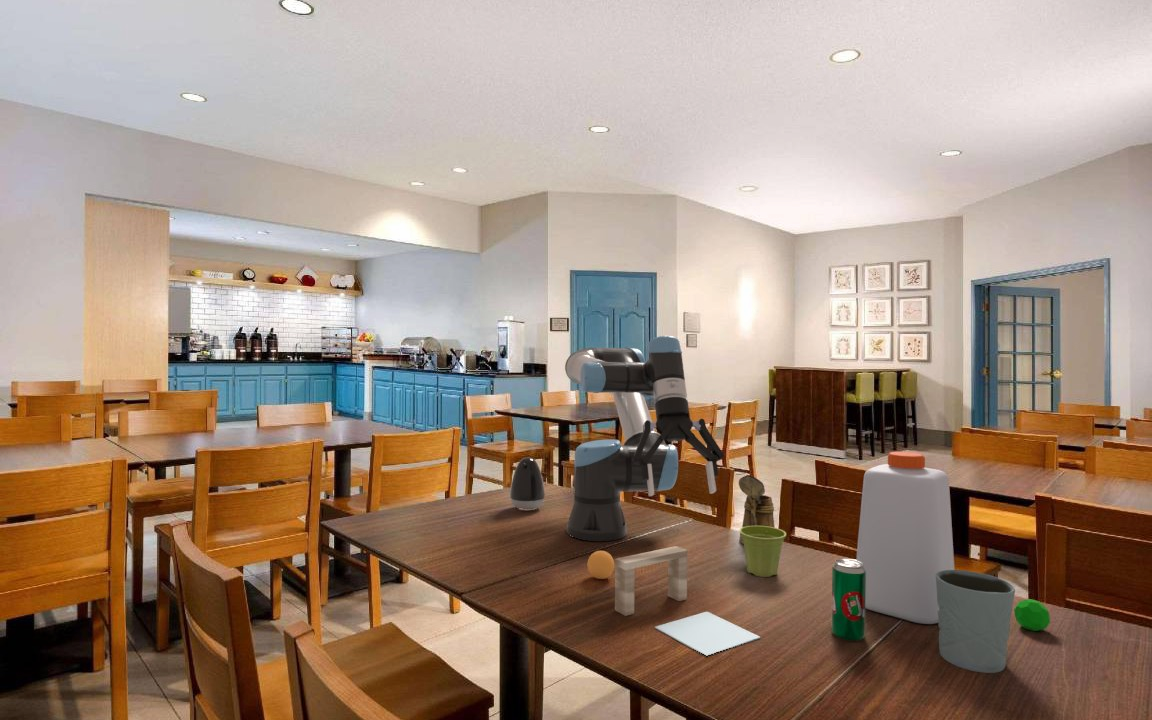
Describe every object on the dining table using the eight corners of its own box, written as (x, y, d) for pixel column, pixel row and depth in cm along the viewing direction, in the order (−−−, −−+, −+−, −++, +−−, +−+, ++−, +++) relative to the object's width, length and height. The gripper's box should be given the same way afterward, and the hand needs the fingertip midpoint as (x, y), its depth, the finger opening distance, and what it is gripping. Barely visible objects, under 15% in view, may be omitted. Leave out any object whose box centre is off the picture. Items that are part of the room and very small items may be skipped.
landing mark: (654, 627, 107) (654, 626, 107) (706, 612, 114) (706, 611, 114) (706, 656, 97) (706, 655, 97) (760, 638, 103) (760, 636, 103)
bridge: (614, 610, 114) (615, 558, 114) (675, 593, 122) (676, 545, 122) (625, 615, 112) (625, 563, 112) (686, 599, 120) (687, 550, 120)
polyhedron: (1034, 636, 105) (1034, 608, 105) (1006, 624, 110) (1007, 596, 110) (1057, 633, 106) (1057, 605, 106) (1029, 621, 111) (1029, 594, 111)
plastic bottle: (962, 606, 117) (964, 454, 117) (937, 631, 107) (939, 463, 106) (876, 585, 128) (878, 445, 128) (845, 605, 117) (847, 453, 117)
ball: (582, 576, 131) (582, 549, 131) (603, 571, 134) (604, 545, 134) (597, 584, 126) (597, 557, 126) (619, 579, 129) (620, 552, 129)
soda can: (836, 626, 108) (838, 555, 108) (868, 634, 105) (869, 562, 105) (827, 636, 104) (828, 563, 104) (859, 645, 101) (860, 570, 101)
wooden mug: (728, 549, 151) (729, 472, 151) (745, 535, 162) (746, 464, 162) (766, 555, 146) (767, 477, 146) (781, 541, 158) (782, 468, 157)
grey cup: (919, 650, 100) (921, 573, 100) (963, 639, 104) (965, 565, 104) (983, 681, 91) (985, 596, 90) (1029, 668, 95) (1030, 587, 94)
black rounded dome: (505, 512, 183) (505, 459, 183) (514, 504, 193) (515, 454, 193) (540, 514, 181) (540, 460, 181) (548, 506, 191) (548, 455, 191)
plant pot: (788, 582, 129) (788, 539, 129) (740, 578, 131) (740, 536, 131) (782, 567, 138) (783, 527, 138) (737, 563, 140) (738, 524, 140)
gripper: (619, 396, 142) (628, 492, 134) (728, 393, 145) (743, 487, 136) (614, 407, 149) (622, 499, 141) (719, 404, 152) (732, 494, 143)
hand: (682, 493), depth 139 cm, fingers open, 13 cm apart
